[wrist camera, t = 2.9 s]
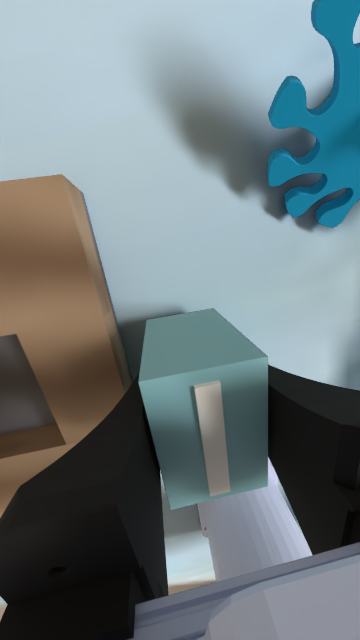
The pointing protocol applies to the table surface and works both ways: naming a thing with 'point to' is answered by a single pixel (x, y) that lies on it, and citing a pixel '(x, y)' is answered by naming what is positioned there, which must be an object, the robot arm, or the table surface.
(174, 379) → the teal striped block
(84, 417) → the keyed socket
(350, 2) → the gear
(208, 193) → the table surface
